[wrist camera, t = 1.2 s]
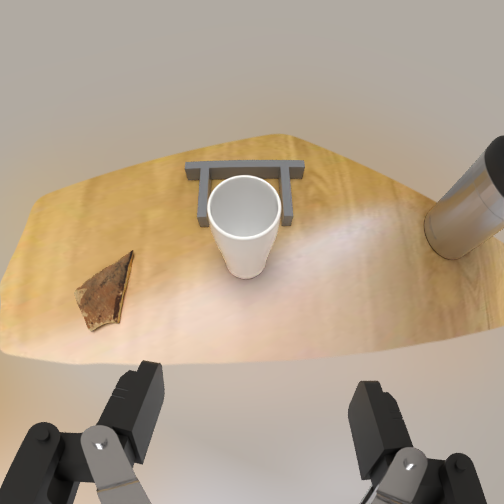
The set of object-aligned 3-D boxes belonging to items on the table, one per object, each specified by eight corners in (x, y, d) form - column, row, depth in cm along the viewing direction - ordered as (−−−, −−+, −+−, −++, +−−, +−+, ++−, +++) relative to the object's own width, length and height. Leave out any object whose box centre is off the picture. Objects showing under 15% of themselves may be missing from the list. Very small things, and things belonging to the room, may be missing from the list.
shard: (136, 253, 43) (132, 249, 41) (161, 299, 41) (157, 295, 39) (76, 292, 41) (70, 289, 39) (97, 339, 39) (91, 337, 37)
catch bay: (301, 172, 47) (303, 160, 44) (306, 225, 44) (310, 215, 41) (188, 173, 47) (185, 162, 44) (184, 227, 44) (180, 217, 41)
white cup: (212, 247, 43) (196, 187, 29) (259, 230, 44) (264, 164, 30) (230, 293, 41) (220, 251, 27) (279, 274, 42) (295, 224, 27)
